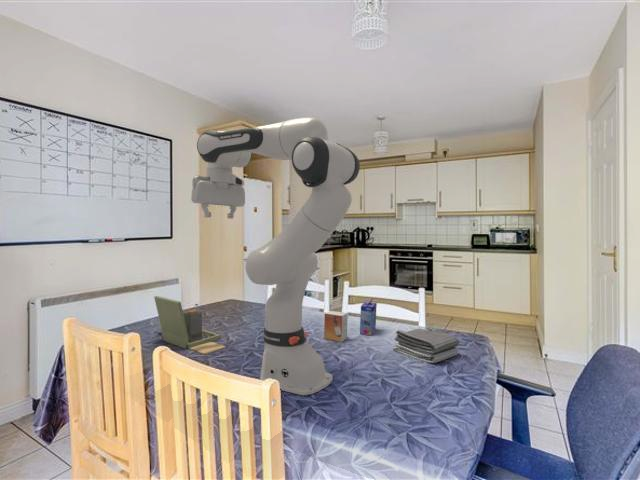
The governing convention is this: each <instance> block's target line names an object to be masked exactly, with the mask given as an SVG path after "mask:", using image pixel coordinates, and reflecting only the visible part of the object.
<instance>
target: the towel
mask: <svg viewBox="0 0 640 480" xmlns="http://www.w3.org/2000/svg"><path fill="white" fill-rule="evenodd" d="M395 334H396V336H395V338H394V341H396V342H397V343H396V344H395V346H394V347H393V348H392V350H393V352H394V353H397V354H401V355H403V354H404V356H406V355H407V356H406V357H409V356H410V357H409V358H413V359H414V360H415V359H416V360H418V361H420V360H421V362H423V361H424V363H426V362H427V363H426V364H436V363H439V362H442V361H444V360H446V359H449V358H452V357H455V356H458V355H459V351H458V347H457V346H459V344H460V341H459V340H458V338H457V337H455V336H454V335H452V334H450V333H446V332H441V331H432V330H427V329H423V328H415V329H412V330H409V331H403V330H400V329H397V330H396V332H395Z"/></svg>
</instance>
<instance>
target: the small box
mask: <svg viewBox="0 0 640 480" xmlns="http://www.w3.org/2000/svg"><path fill="white" fill-rule="evenodd" d="M348 316H349V313H348V312H341V311H333V310H329V311H327V312H324V324H323V325H324V326H323V330H324V331H323V339H324V340H329V341H334V342H338V343H343V342H344V341H346V340H347V339H348V318H349V317H348Z"/></svg>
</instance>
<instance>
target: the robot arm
mask: <svg viewBox="0 0 640 480" xmlns="http://www.w3.org/2000/svg"><path fill="white" fill-rule="evenodd" d="M196 149H197V152H198V155H199V156H200V157H201V159H202V160H203V161H204V162H206V163H207V166H206V173H205V174H206V176H203V175H202V176H201V175H196V176H193V179H192V189H191V202H192V203H193V204H201V210H202V211H203V212H204V218H212V212H211V211H209V206H210V205H213V206H224V207H229V210H230V212H229V213H227V217H226V218H227V219H229V220H230V219H234V216H235V215H234V214H235V213H236V211H237V208H241V207H244V206H245V204H246V191H245V189H244V185H245V181H244V179H242V178H240V177H239V176H237V175H235V174H234V173H233V167H235V168H245V167H247V166H248V165H249V164H250V163H251V161H252V159H253V154H255V155H256V154H257V155H259V156H260V155H261V156H264V157H267V158H271V159H275V160H281V161H291V164H292V167H293V169H294V172H295V173H296V174H297V175H298V176H299V178H300V179H301V180H302V183H303V185H304V186H305V187H308V188H311V193H310V196H308V198H307V199H306V201H305V202H304V203H303V205H302V206H301V208H300V209H299V211H298V212H297V213H296V214H295V216H294V217H293V219H292V220H291V221H290V223H289V224H288V225H287V226H286V227H285V228H284V229H283V230H282V231H281V232H279V233H278V234H277V235H276V236H275V237H273V238H272V239H270V240H269V241H268V242H266V244H264V245H263V246H261V247H259V248H257V249H255V250H253V251H251V252H250V253H249V254H248V256H247V257H246V260H245V267H244V269H245V272H246V276H247V277H248V279H249V280H250V281H251V282H252V283H253V284H255V285H260V286H261V285H262V286H264V285H265V286H274V285H276V286H275V289H274V290H273V293H272V294H271V295H270V296H269V297H268V298H267V300H266V302H265V306H264V307H265V308H264V309H265V310H264V315H265V316H264V319H265V320H264V322H265V324H264V328H263V341H264V347H263V354H262V361H261V362H262V363H261V368H260V371H259V380H260V379H261V380H264V379H267V378H272V379H276V380H278V381H279V382H280V386H281V390H280V391H282V392H283V391H284V392H287V393H291V394H295V395H300V396H308V395H309V396H310V395H312V394H315V393H317V392H320V391H322V390H323V389H325V388H326V387H328V386H329V385H330V384H331V383H332V382H333V374H332V373H329V372H328V371H326V369H325V362H324V358H323V357H322V356H321V355H320V354H319V353H318V352H317V351H316V350H315V349H314V348H313V347H312V345H311V344H310V343H309V342H308V341H307V337H309V336H310V335H309V334H310V332H305V330H304V328H303V324H302V323H303V303H304V302H303V301H304V297H305V293H306V289H307V287H308V284H309V282H310V279H311V277H312V276H313V275H314V274H315V272H316V271H317V269H318V265H319V262H318V261H319V260H318V255H317V254H316V252H317V251H319V250H320V249H321V248H322V246H324V244H325V243H326V241H328V239H329V238H330V236H332V234H333V233H334V232H335V230H336V229H337V228H338V226H340V224H341V222H342V220H343V219H344V218H345V216H346V214H347V212H348V211H349V208H350V207H351V204H352V200H353V199H352V194H351V192H350V191H349V189H348V188H347V187H346V185H348V184H351V183H353V182H354V181H355V180H356V179H357V177H358V176H359V173H360V169H361V168H360V167H361V166H360V165H361V164H360V161H359V157H358V156H357V155H356V154H355V152H353V150H351V149H350V148H347V147H345V146H343V145H341V144H340V143H337V142H334V141H332V140H331V141H330V140H329V136H328V130H327V128H326V126H325V124H324V122H323V121H322V120H320V118H317V117H297V118H291V119H288V120H284V121H280V122H275V123H271V124H267V125H260V126H255V127H247V128H239V129H234V130H227V131H226V130H215V129H214V130H213V129H207V130H206V131H204V132H202V134H201V135H200V136H199V137H198V139H197V143H196Z"/></svg>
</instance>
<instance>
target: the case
mask: <svg viewBox="0 0 640 480" xmlns="http://www.w3.org/2000/svg"><path fill="white" fill-rule="evenodd" d="M153 298H154V302H155V306H156V310H157V314H158V321H159V320H160V324H161V328H162V334H161V340H162V341H164V342H167V343H169V344H172V345H175V346H177V347H180V348H182V349H184V350H188V349H190V348H192V347H195V346H198V345H201V344H205V343H208V342H214V341H218V340H221V334H218V333H215V332H213V331H209V330H206V329H203V328H202V335H204V336H207V337H205V338H202V340H198V341H195V342H192V343H190V342H188V334H187V329H186V324H185V320H184V315H183V313H184V311H183V308H182V307H183V305H182V303H181V301H178V300H176V299H172V298H167V297H164V296H163V297H162V296H158V295H155V296H153Z"/></svg>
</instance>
